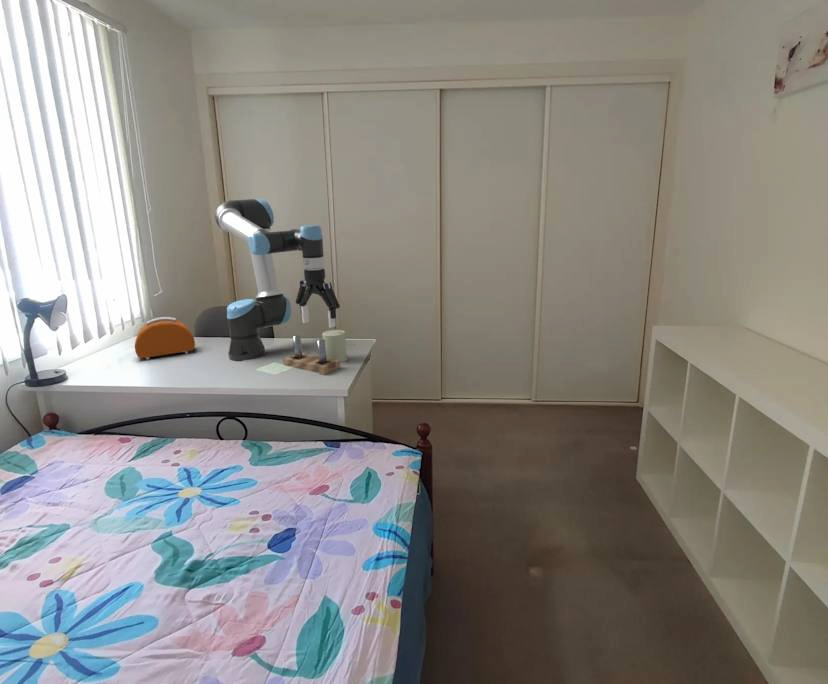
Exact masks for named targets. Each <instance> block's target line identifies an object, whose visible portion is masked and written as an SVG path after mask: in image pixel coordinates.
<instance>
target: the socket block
mask: <svg viewBox="0 0 828 684" xmlns="http://www.w3.org/2000/svg"><path fill="white" fill-rule="evenodd" d="M302 354H303V358H302V359H300V360H298V359H295V353H294V354H291V355H289V356H286V357H284V358H282V364H283V365H285V366H290V367H294V368H293V369H298V370H304V371H309V372H313V373H318V374H319V375H323V376H324V375H327V374H330V373H332V372H334V371H337V370H339V369H341V362H340V361H339V360H334V359H329V358H327V363H326V364H324V365H322V364H319V358H318V355H313V354H308V353H303V352H302Z"/></svg>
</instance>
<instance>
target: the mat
mask: <svg viewBox="0 0 828 684" xmlns="http://www.w3.org/2000/svg"><path fill="white" fill-rule="evenodd" d="M291 369H295V368H294V367H290V366H285V365H283V363H278V362H272V363H270V364H267V365H264V366H262V367H261V366H260V367H259V368H255V369H254V371H257V372H262V373H264V374H265V373H266V374H269V375H274V376H277V375H279V374H282V373H284V372H286V371H289V370H291Z"/></svg>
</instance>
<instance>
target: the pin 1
mask: <svg viewBox="0 0 828 684" xmlns="http://www.w3.org/2000/svg"><path fill="white" fill-rule="evenodd" d="M292 341H293V342H292V343H293V351H294V354H295V359H298V360H300V359H302V358H303V354H304V353H303V347H302V338H301V334H293V335H292ZM302 353H303V354H302Z"/></svg>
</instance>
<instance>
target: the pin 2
mask: <svg viewBox="0 0 828 684" xmlns="http://www.w3.org/2000/svg"><path fill="white" fill-rule="evenodd" d="M316 345H317V346H316V347H317V354H318V355H317V356H318V358H319V364H322V365H324V364H326V363H327V358H326V347H325V339H323V338H318V339H316Z"/></svg>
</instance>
